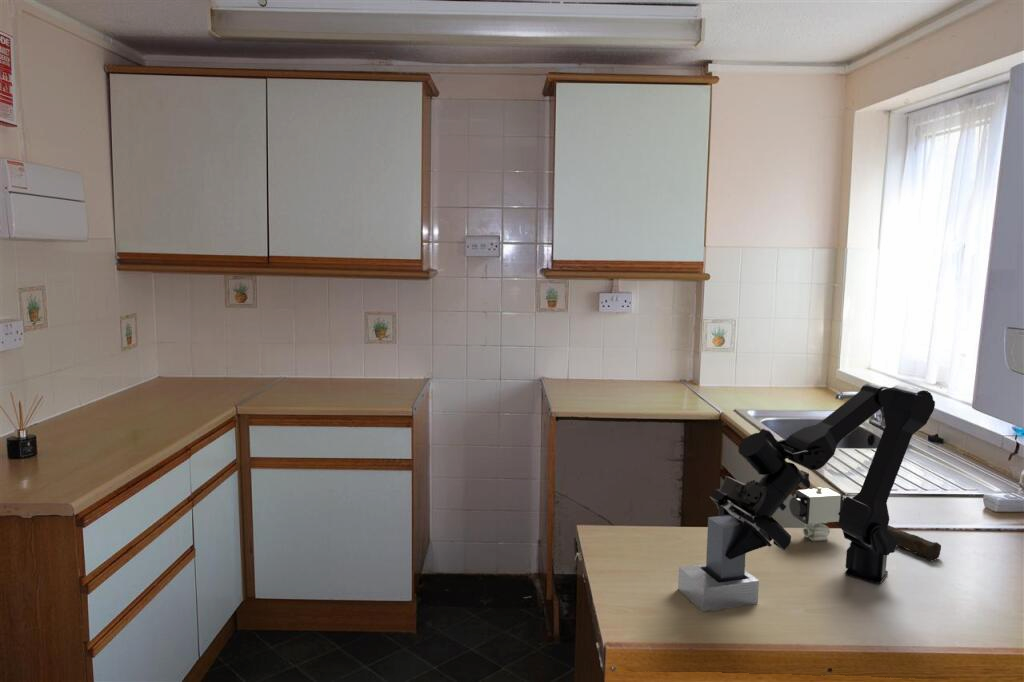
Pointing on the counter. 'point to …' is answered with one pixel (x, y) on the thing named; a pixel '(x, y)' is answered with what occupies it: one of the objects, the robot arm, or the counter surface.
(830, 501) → the pneumatic valve
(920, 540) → the hand tool
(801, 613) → the counter surface
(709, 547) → the peg
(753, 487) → the robot arm
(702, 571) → the block with rectangular hole
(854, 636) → the counter surface
